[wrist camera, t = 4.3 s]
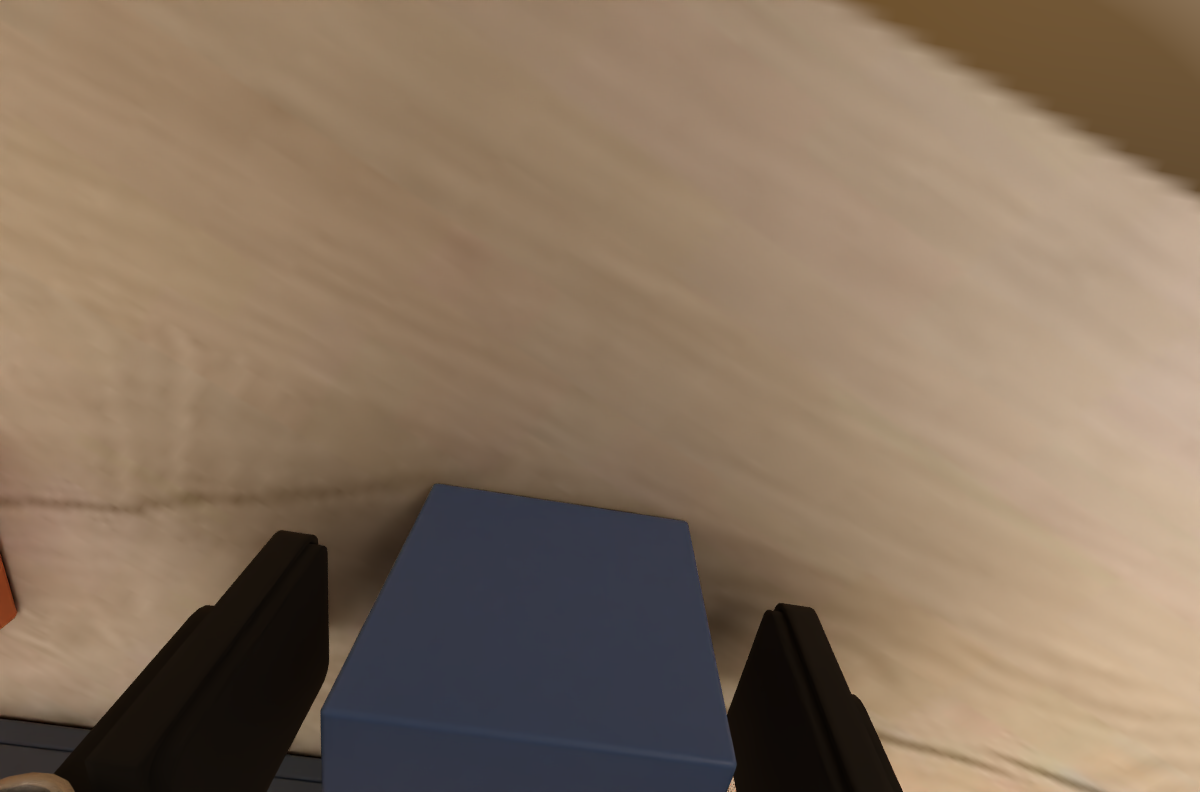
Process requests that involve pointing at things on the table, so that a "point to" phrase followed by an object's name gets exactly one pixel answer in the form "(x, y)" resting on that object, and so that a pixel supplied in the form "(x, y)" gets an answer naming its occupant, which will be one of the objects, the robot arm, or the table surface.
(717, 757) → the blue block
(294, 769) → the blue tray
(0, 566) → the terracotta block
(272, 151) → the table surface
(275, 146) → the table surface
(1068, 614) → the table surface
